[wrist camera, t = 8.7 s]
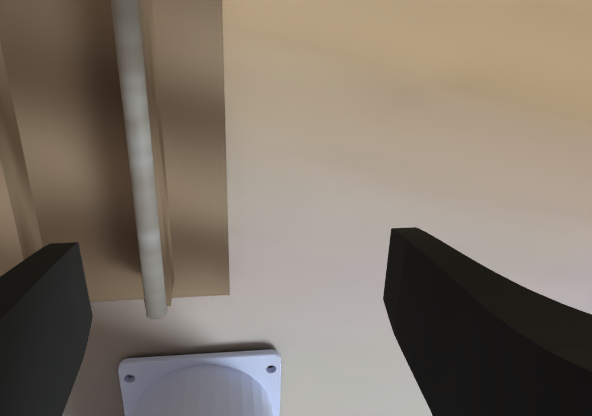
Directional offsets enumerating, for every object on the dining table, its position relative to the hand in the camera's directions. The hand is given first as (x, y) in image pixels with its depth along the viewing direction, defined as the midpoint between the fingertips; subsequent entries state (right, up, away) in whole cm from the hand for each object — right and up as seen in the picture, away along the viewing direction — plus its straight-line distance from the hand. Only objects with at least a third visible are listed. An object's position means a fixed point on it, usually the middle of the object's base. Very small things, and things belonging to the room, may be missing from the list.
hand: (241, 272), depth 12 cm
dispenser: (-7, +6, +8) cm, 12 cm away
